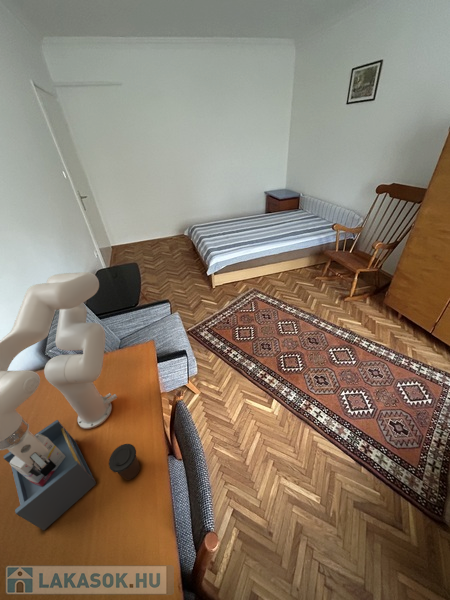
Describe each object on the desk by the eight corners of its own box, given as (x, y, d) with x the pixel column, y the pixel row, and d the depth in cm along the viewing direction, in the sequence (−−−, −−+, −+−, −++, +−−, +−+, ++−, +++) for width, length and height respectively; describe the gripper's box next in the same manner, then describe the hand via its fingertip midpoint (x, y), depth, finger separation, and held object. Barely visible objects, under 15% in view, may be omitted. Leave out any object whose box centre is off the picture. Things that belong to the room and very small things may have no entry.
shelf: (75, 440, 88) (57, 419, 81) (96, 483, 76) (77, 463, 69) (28, 475, 80) (3, 455, 72) (43, 530, 68) (15, 513, 60)
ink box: (42, 488, 69) (19, 470, 63) (30, 482, 71) (6, 464, 65) (67, 456, 76) (49, 437, 70) (55, 451, 78) (36, 432, 71)
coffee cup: (119, 490, 74) (107, 476, 69) (117, 463, 81) (107, 448, 75) (145, 476, 77) (136, 462, 71) (142, 452, 83) (133, 437, 77)
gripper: (41, 435, 61) (71, 466, 70) (10, 405, 69) (42, 437, 78) (7, 464, 55) (45, 494, 65) (-22, 429, 63) (16, 460, 73)
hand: (43, 463), depth 72 cm, fingers open, 7 cm apart
